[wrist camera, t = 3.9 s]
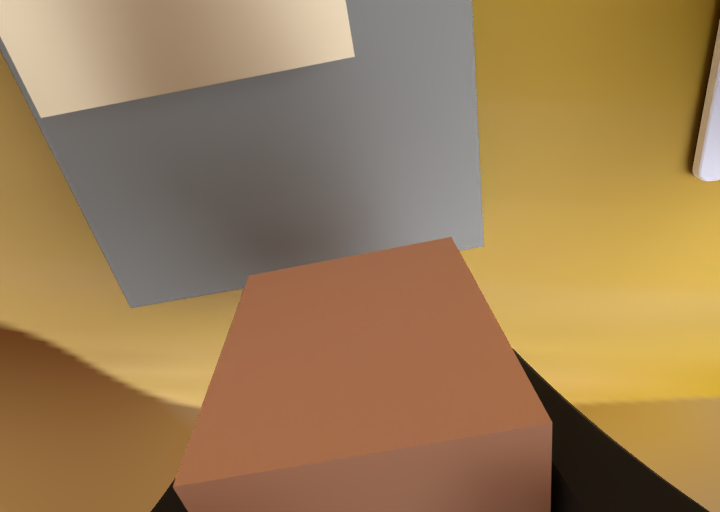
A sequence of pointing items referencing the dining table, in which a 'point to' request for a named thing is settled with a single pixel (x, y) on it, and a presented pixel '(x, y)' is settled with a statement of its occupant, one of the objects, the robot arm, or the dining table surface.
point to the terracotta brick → (368, 396)
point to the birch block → (161, 45)
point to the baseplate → (285, 159)
